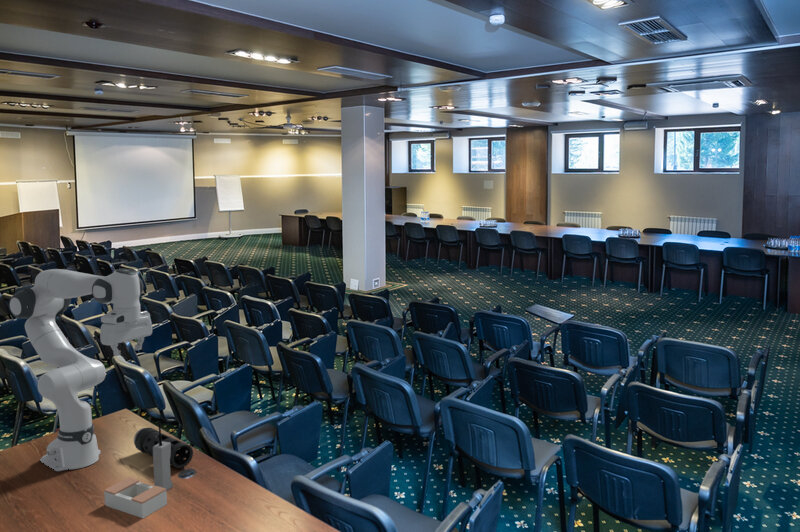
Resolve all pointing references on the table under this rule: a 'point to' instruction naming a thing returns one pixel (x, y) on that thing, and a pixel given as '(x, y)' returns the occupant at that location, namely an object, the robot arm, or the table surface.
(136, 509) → the tan rectangular frame
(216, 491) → the table surface
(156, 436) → the muzzle brake
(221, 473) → the table surface
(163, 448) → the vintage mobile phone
